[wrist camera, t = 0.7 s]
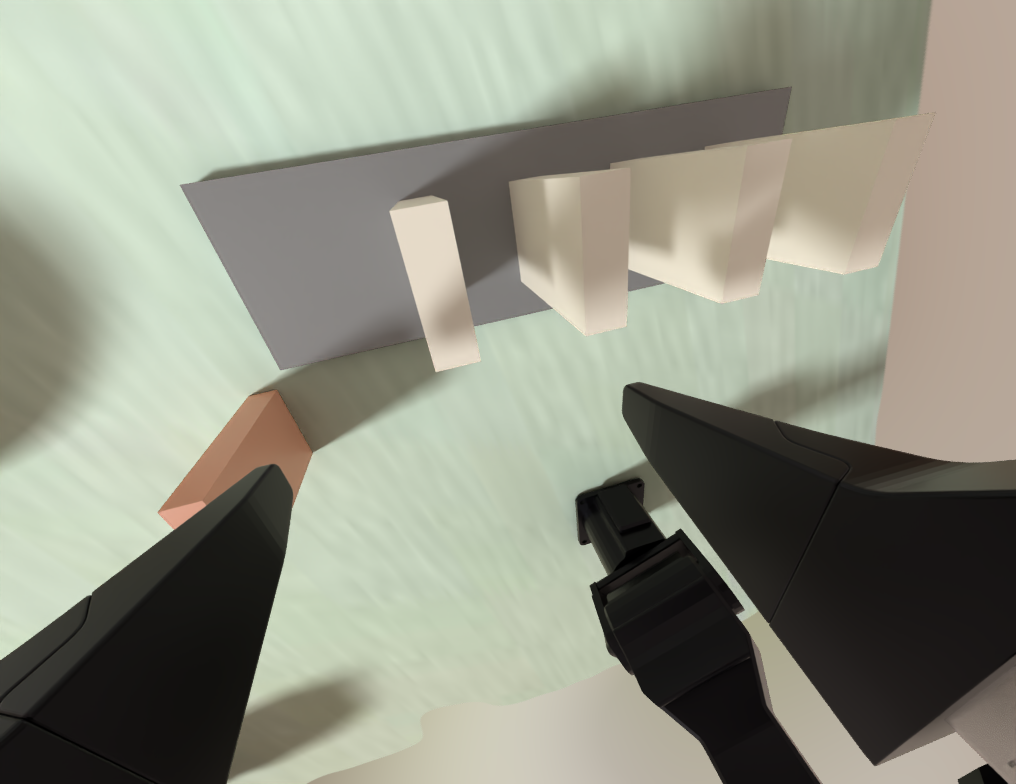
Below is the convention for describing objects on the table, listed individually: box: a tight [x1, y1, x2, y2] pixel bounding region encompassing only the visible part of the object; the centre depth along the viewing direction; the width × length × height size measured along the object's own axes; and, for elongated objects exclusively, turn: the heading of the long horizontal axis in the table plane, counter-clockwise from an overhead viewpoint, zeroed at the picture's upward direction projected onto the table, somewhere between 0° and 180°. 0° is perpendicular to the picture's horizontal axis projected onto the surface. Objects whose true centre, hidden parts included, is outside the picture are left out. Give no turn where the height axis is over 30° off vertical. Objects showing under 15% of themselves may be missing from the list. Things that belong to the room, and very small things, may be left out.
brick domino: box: [157, 390, 313, 530], centre depth 19 cm, size 5×2×9 cm, turn 8°
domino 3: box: [610, 138, 792, 304], centre depth 16 cm, size 5×2×9 cm, turn 8°
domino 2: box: [509, 167, 631, 336], centre depth 16 cm, size 5×2×9 cm, turn 8°
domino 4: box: [705, 113, 935, 274], centre depth 17 cm, size 5×2×9 cm, turn 8°
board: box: [180, 87, 792, 370], centre depth 20 cm, size 9×30×1 cm, turn 98°
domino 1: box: [389, 195, 481, 372], centre depth 15 cm, size 5×2×9 cm, turn 8°
